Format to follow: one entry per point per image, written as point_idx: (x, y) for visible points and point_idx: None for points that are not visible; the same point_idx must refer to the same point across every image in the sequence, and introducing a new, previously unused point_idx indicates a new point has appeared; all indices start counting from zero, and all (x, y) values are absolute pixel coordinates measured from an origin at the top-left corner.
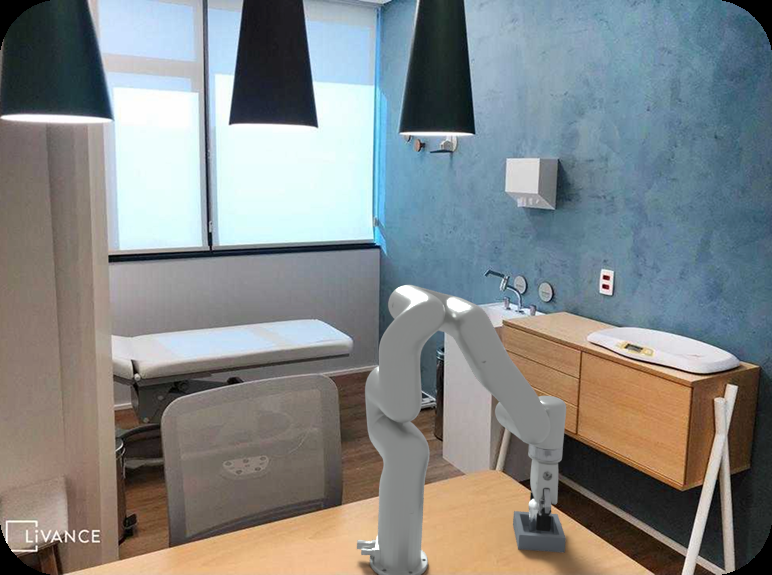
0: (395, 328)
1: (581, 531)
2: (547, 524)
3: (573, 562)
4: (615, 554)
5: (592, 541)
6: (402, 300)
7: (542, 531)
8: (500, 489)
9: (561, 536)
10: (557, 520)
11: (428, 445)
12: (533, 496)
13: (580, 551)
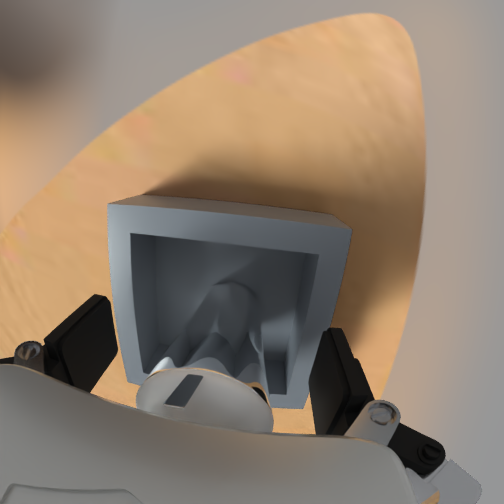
0: None
1: (164, 91)
2: (362, 374)
3: (393, 201)
4: (333, 20)
5: (241, 64)
6: None
7: (252, 311)
8: (3, 310)
9: (336, 248)
10: (168, 221)
11: None
12: (86, 386)
13: (322, 140)
